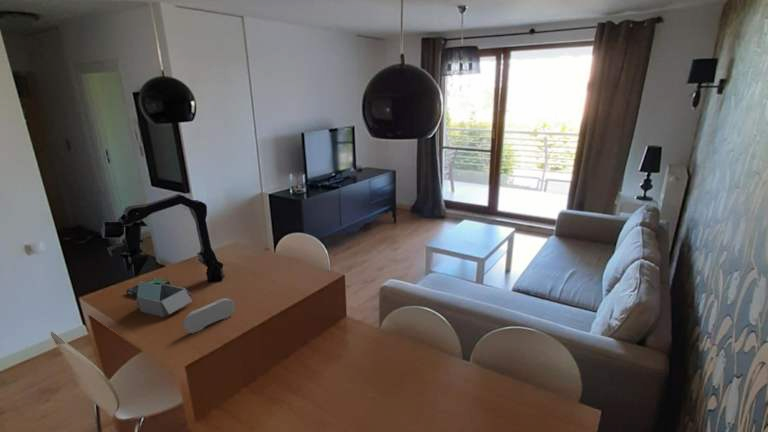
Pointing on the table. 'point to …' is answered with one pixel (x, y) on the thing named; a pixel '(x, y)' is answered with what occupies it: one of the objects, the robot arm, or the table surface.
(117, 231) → the robot arm
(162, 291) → the grey open storage bin
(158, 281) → the disk drive
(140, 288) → the flap
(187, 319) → the grey rounded flat bar
